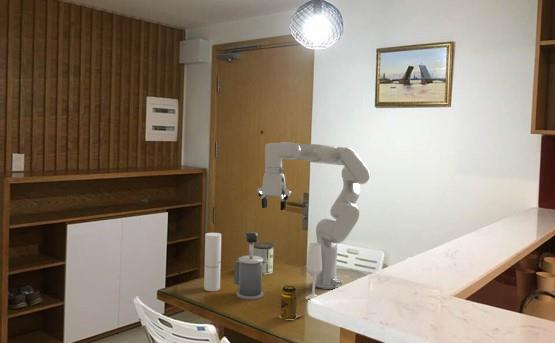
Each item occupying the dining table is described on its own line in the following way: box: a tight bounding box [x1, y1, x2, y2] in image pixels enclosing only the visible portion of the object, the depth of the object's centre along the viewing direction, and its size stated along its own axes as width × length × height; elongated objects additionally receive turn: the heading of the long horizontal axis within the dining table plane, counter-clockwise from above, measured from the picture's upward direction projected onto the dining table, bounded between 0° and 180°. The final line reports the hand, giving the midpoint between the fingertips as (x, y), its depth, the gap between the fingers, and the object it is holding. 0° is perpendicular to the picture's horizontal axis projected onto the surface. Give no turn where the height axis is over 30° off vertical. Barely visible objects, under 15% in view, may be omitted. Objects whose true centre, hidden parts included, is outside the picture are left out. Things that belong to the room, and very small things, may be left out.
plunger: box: [245, 231, 259, 259], centre depth 215 cm, size 5×5×11 cm
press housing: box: [233, 255, 264, 301], centre depth 216 cm, size 14×12×16 cm
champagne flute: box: [305, 242, 322, 300], centre depth 215 cm, size 7×7×24 cm
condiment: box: [280, 285, 298, 320], centre depth 192 cm, size 7×8×12 cm
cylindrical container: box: [203, 232, 222, 292], centre depth 223 cm, size 7×7×25 cm
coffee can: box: [253, 242, 274, 275], centre depth 253 cm, size 10×10×14 cm
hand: (273, 208), depth 220 cm, fingers open, 9 cm apart
